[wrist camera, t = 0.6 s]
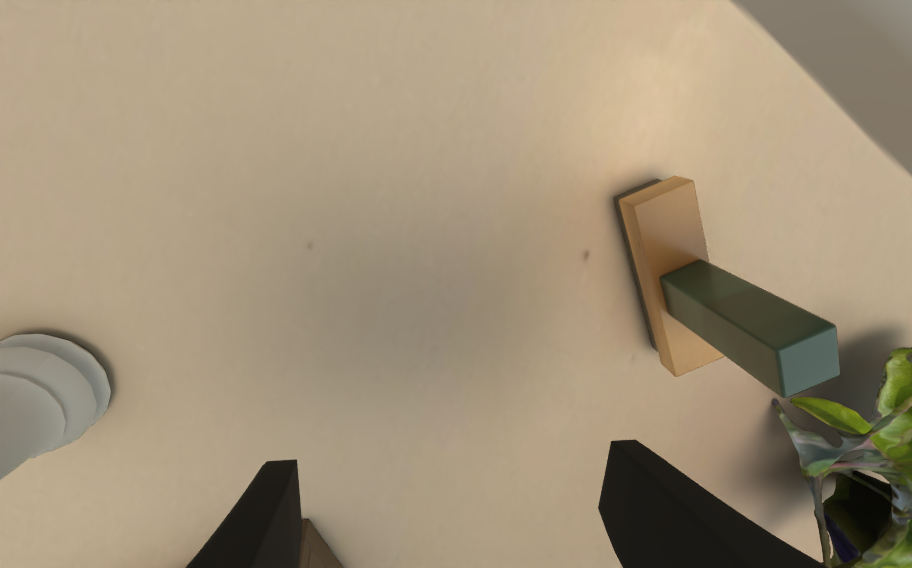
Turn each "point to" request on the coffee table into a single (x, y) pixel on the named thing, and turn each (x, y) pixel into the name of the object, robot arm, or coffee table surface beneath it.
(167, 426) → the coffee table surface
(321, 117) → the coffee table surface
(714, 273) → the brush
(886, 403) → the passion flower
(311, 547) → the tray
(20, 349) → the rook chess piece
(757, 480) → the coffee table surface
